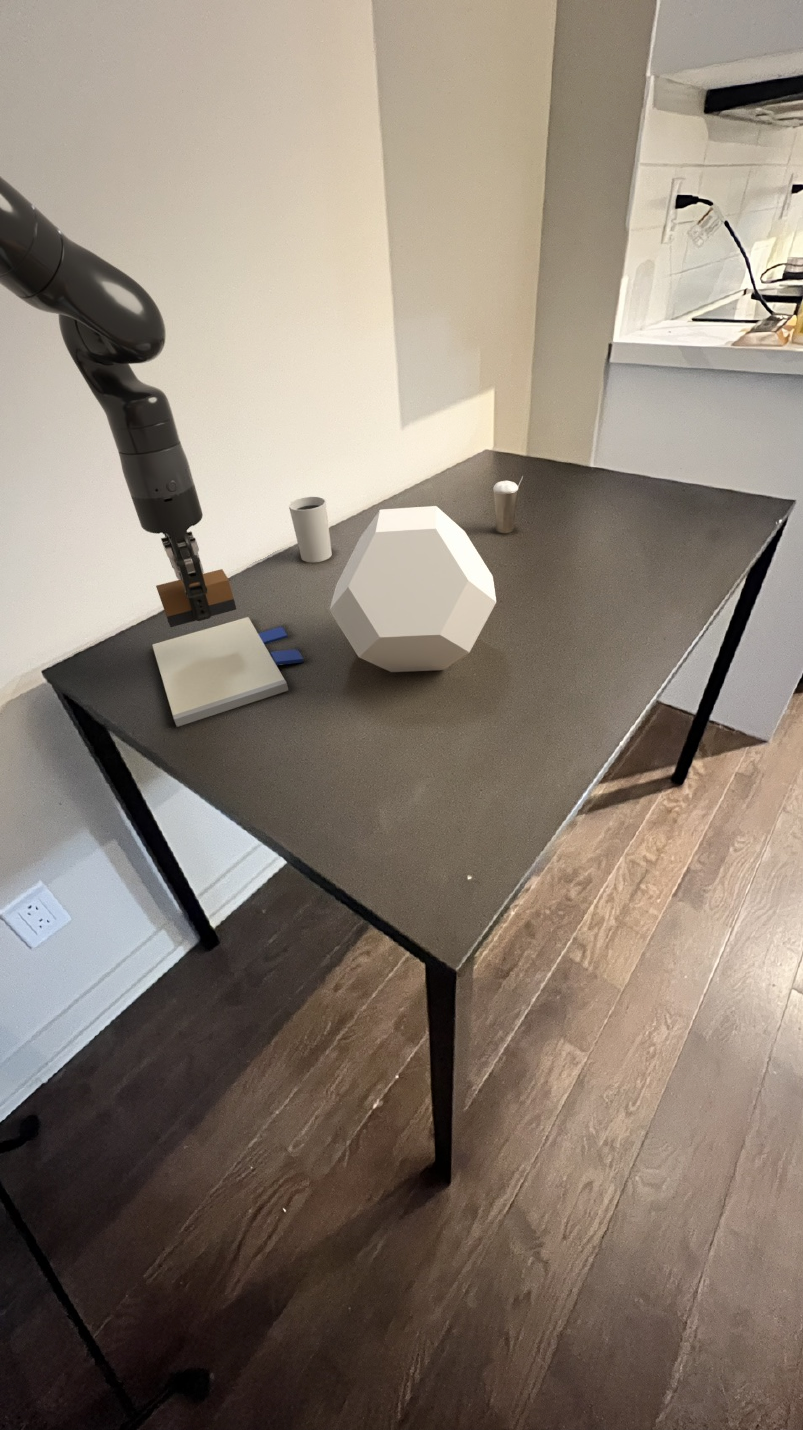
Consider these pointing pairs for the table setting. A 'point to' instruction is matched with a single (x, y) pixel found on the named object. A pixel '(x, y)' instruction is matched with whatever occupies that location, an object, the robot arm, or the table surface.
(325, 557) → the white cup
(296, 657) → the blue rectangular block
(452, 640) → the geometric form
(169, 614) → the eraser
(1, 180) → the robot arm
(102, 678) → the table surface
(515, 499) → the milkshake
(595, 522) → the table surface
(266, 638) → the blue flat block
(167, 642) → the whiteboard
